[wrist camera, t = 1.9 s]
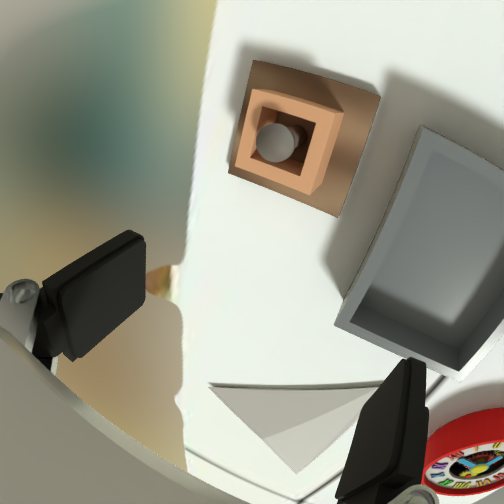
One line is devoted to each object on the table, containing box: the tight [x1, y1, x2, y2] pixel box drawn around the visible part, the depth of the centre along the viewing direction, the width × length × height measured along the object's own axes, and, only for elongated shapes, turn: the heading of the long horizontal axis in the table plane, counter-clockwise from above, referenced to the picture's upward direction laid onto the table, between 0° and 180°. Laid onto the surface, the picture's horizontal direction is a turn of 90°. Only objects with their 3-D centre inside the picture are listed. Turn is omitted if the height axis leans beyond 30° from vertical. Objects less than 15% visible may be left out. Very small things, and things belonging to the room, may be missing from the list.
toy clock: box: [421, 408, 504, 496], centre depth 31 cm, size 20×6×20 cm
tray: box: [334, 125, 504, 382], centre depth 25 cm, size 20×16×4 cm
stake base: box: [228, 60, 381, 218], centre depth 26 cm, size 12×12×7 cm
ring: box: [235, 89, 344, 195], centre depth 26 cm, size 7×7×4 cm
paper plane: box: [209, 387, 379, 474], centre depth 43 cm, size 26×28×4 cm
